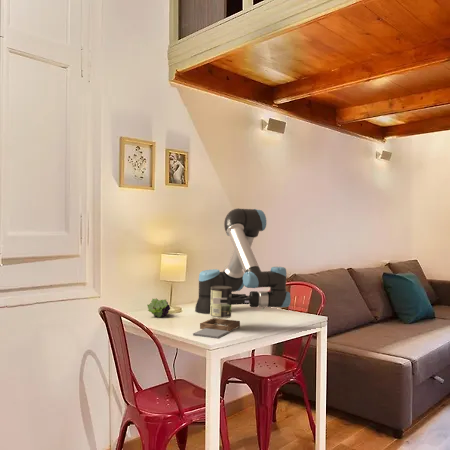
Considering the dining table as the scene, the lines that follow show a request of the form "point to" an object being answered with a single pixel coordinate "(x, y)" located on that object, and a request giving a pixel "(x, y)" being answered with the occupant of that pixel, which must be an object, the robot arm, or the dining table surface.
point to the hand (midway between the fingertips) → (212, 298)
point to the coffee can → (220, 309)
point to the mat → (211, 333)
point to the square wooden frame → (210, 325)
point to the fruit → (159, 307)
